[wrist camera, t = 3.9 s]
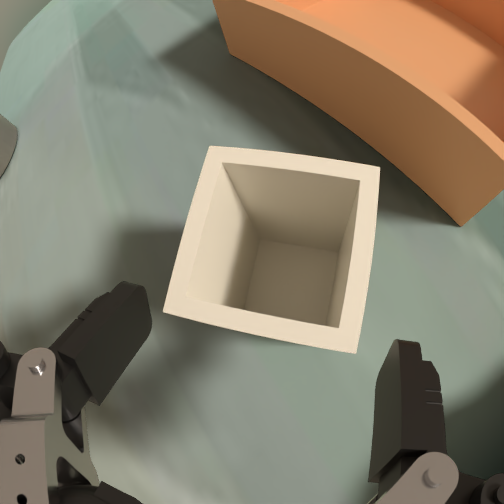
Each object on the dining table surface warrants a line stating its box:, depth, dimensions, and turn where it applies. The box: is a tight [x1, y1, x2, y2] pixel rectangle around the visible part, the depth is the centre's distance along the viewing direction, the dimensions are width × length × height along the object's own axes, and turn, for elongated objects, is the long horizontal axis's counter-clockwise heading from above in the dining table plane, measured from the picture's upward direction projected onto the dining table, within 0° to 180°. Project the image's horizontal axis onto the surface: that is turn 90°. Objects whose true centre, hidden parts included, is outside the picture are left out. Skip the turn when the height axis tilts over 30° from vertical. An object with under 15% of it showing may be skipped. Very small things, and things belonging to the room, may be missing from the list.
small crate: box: [163, 146, 380, 354], centre depth 14 cm, size 6×6×9 cm
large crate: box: [213, 0, 504, 227], centre depth 17 cm, size 22×22×7 cm
